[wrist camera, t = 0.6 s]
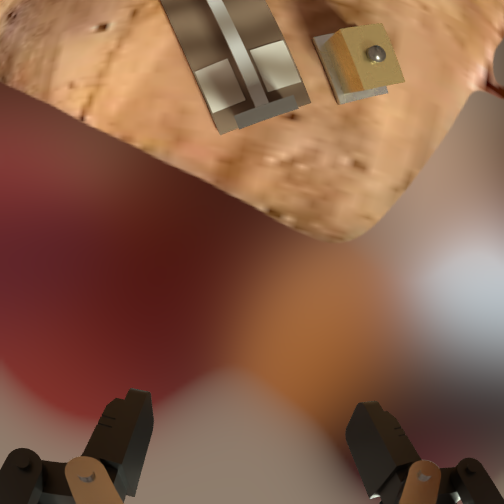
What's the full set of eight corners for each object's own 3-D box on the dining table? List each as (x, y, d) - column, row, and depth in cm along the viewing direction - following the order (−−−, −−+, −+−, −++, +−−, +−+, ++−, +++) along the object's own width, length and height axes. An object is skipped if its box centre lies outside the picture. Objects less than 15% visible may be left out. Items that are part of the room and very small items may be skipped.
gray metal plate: (311, 39, 24) (313, 37, 23) (360, 30, 23) (363, 28, 22) (337, 104, 27) (340, 104, 26) (384, 93, 26) (388, 92, 25)
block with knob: (323, 43, 23) (342, 26, 17) (360, 36, 22) (385, 21, 16) (344, 93, 26) (367, 89, 20) (379, 85, 25) (409, 81, 19)
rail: (158, -8, 21) (133, -34, 13) (241, -39, 19) (237, -74, 12) (221, 134, 29) (210, 141, 22) (309, 103, 27) (327, 100, 20)
